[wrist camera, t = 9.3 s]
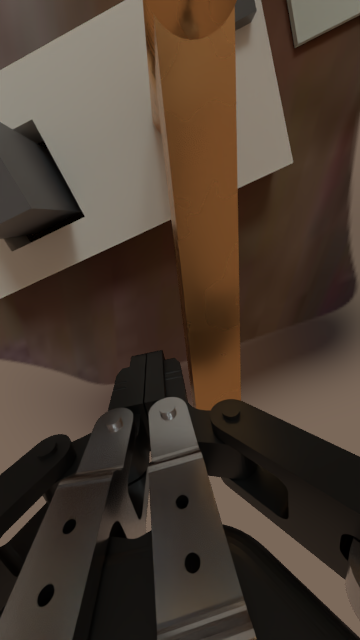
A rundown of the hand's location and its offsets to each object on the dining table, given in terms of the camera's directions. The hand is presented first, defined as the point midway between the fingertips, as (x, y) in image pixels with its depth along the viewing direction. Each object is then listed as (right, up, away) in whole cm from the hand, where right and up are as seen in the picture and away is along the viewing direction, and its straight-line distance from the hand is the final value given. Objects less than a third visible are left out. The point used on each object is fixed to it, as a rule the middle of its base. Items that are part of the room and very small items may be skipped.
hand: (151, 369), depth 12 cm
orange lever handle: (+2, +8, +5) cm, 9 cm away
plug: (-8, +11, +6) cm, 15 cm away
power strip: (-4, +13, +5) cm, 15 cm away
